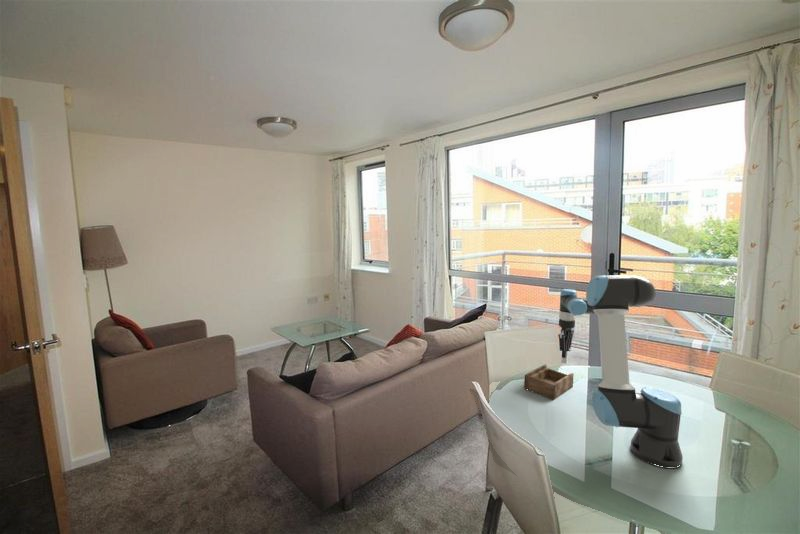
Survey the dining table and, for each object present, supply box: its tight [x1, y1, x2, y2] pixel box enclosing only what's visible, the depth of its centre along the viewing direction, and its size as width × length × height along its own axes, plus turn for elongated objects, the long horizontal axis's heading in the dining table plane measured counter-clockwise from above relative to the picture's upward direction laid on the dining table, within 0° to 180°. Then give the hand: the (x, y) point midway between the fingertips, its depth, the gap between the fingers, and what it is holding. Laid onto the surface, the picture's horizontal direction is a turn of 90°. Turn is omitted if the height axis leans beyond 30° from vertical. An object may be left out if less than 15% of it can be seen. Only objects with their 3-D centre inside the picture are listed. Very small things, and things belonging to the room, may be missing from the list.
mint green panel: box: [560, 368, 584, 385], centre depth 192 cm, size 17×12×4 cm
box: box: [523, 363, 575, 401], centre depth 179 cm, size 20×15×7 cm
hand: (564, 362), depth 189 cm, fingers closed
